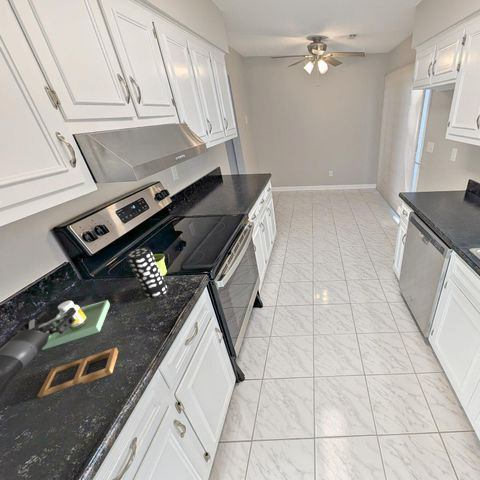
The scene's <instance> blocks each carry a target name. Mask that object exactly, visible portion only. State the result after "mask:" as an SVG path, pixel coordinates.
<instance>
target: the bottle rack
mask: <svg viewBox="0 0 480 480" xmlns="http://www.w3.org/2000/svg"><path fill="white" fill-rule="evenodd" d="M118 353H119V350H118V348H117V347H112V348H109V349H107V350H103V351H101V352H97V353H95V354H92V355H88V356H87V357H86V356H85V357H83V358H80V359H78V360H74V361H72V362H68V363H65V364H62V365H60V366H57V367H54V368H51V369H50V371H49V372H48V375H47V377H46V379H44V382H43V384H42V386H41V388H40V390H39V392H38V393H37V397H38V398H39V399H40V398H43V397H46V396H48V395H51V394H53V393H57V392H58V391H61V390H64V389H67V388H70V387H72V386H75V385H78V384H80V383H81V386H83V385H86V384H89V383H91V382H93V381H96V380H99V379H101V378H104V377H107V376H110V375H113V372H114V368H115V365H116V361H117V359H118ZM105 359H107V362H106V363H105V364H106V365H105V367H104V368H102V369H99V370H96V371H93V372H90V373H88V374H85V375H83V374H84V371H85V369H86V367H87V365H88V363H89V364H90V365H92V364H93V363H96V362H100V361H102V360H105ZM77 366H78V368H77V370H76V373H75V375H74V377H73V379H70V380H68V381H65V382H63V383H60V384H57V385H55V386H51V384H52V382H53V381H54V379H55V376H56V374H57V373H59V372H62V371H66V370H68V369H71V368H74V367H77ZM50 386H51V387H50Z"/></svg>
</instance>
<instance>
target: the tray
mask: <svg viewBox="0 0 480 480" xmlns="http://www.w3.org/2000/svg"><path fill="white" fill-rule="evenodd" d="M110 306H111V303H110V301H109V300H108V299H105V300H102V301H98V302H95V303H91V304H88V305H84V306H81V307H80V309H81V310H82V312H83V313H84V315H85V316H86V317H87V319H88V321H87V323H86V324H85V325H83V326H82V327H80V328H77V329H70V328H68V329H67V330H66V331H65V332H64V333H62V334H60V333H59V332H54V333H53V334H52V335H50V336H49V338H48V342H47V344H46V345H45V346H44V347H43V348H42V349H41V351H44V350H47V349H51V348H54V347H56V346H59V345H63V344H66V343H70V342H72V341H76V340H78V339H82V338H84V337H87V336H91V335H94V334H98V333H100V332H101V330H102V327H103V325H104V322H105V319H106V318H107V317H106V316H107V314H108V312H109V309H110ZM59 317H61V316H60V315H59V313H57V314H56V316H55V318H59ZM62 321H63V319H62V320H60V322H62ZM53 324H54V325H55V327H56V326H57V323H56V322H54V323H53Z"/></svg>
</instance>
